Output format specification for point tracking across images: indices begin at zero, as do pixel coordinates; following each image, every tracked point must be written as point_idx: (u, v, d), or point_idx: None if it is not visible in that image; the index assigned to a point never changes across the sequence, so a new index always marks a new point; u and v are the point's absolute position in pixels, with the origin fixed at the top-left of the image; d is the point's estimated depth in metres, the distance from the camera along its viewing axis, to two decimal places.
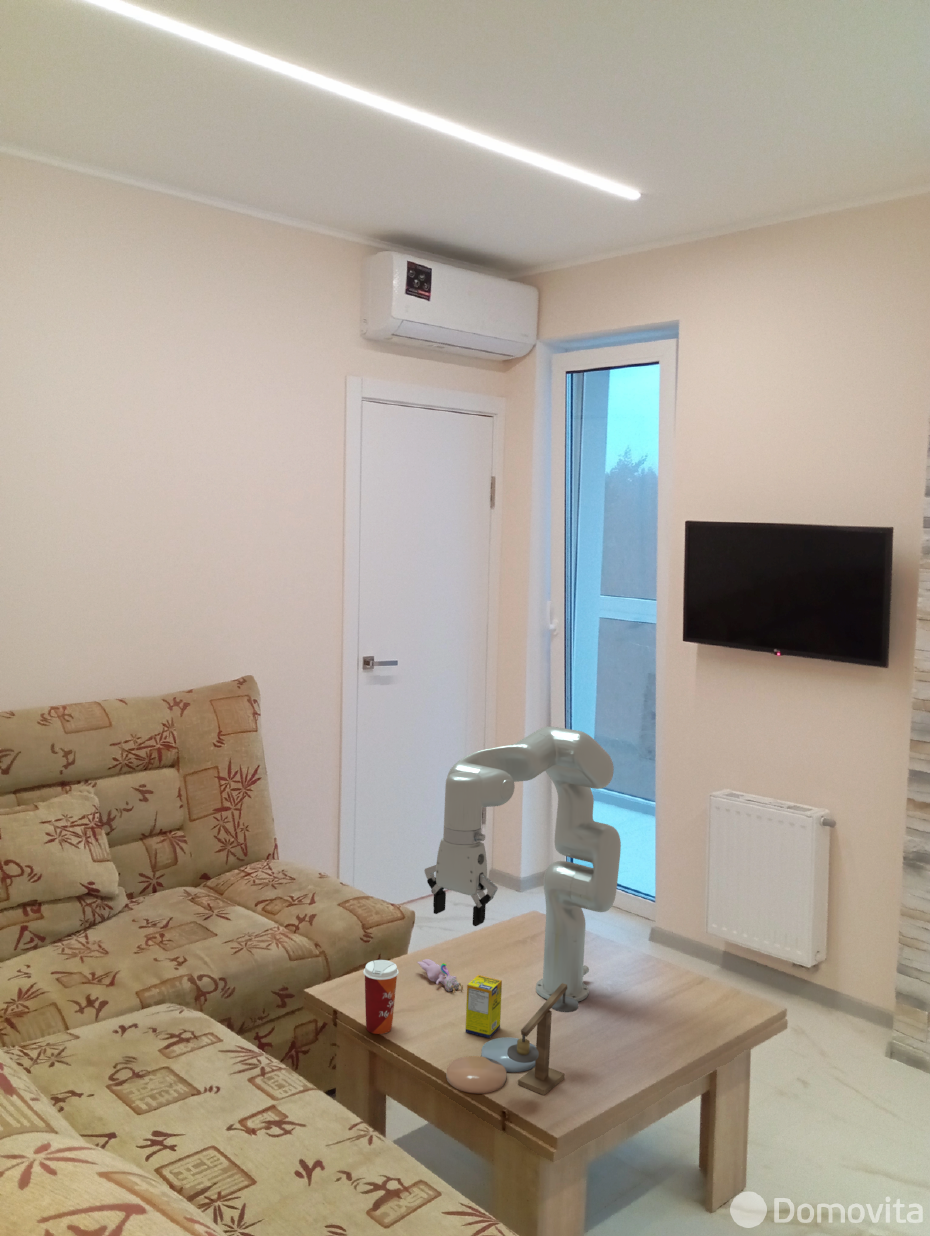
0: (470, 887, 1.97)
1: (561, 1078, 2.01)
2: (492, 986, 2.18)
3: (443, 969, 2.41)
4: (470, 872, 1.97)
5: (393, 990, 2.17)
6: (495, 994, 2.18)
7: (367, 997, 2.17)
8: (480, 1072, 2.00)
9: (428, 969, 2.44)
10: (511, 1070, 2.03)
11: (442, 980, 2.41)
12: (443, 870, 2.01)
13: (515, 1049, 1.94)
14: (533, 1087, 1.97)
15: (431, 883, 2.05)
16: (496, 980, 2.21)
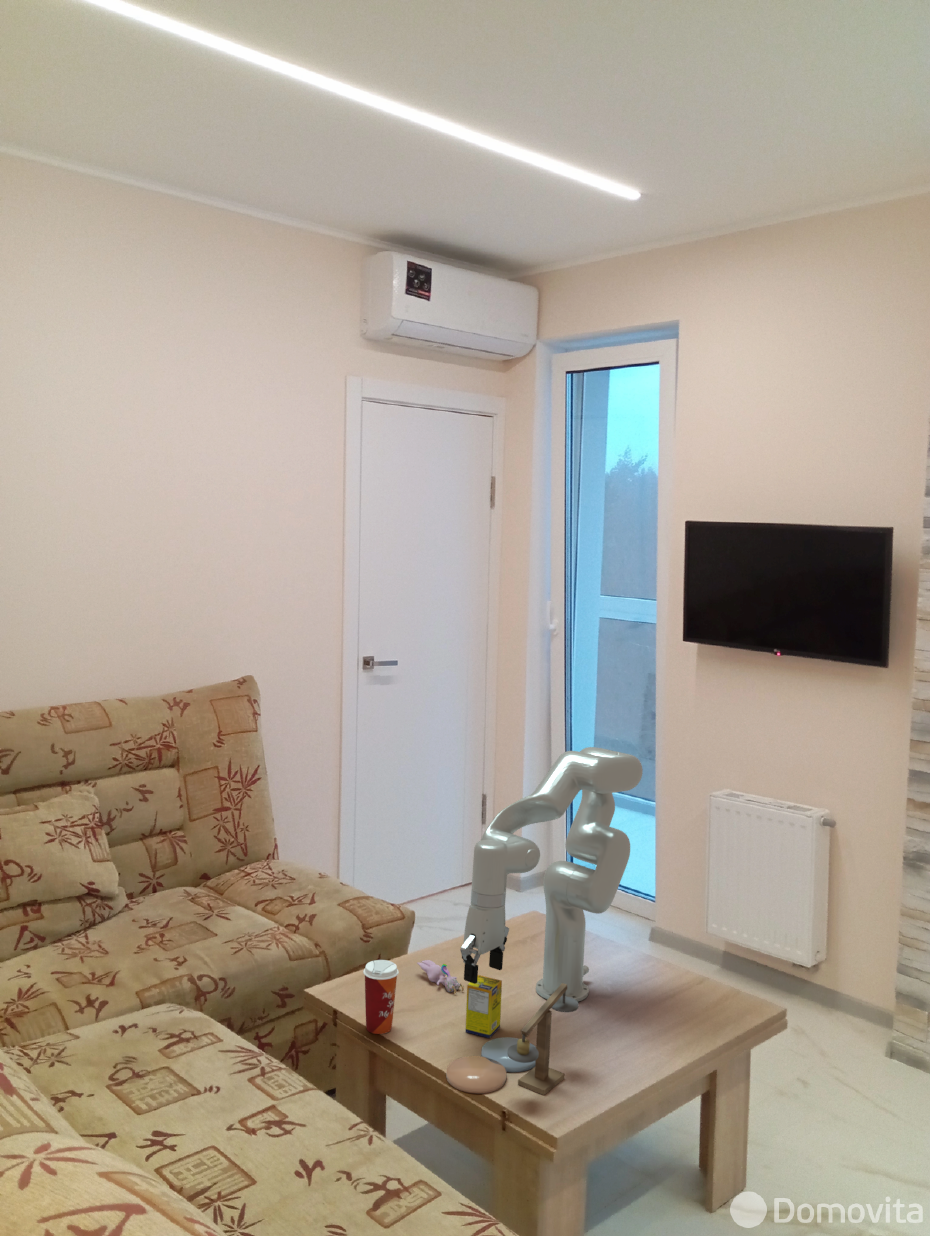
0: (503, 937, 2.21)
1: (561, 1078, 2.01)
2: (492, 986, 2.18)
3: (444, 970, 2.41)
4: (504, 924, 2.20)
5: (393, 990, 2.17)
6: (495, 994, 2.18)
7: (367, 997, 2.17)
8: (480, 1072, 2.00)
9: (428, 970, 2.43)
10: (511, 1070, 2.03)
11: (443, 981, 2.40)
12: (488, 936, 2.15)
13: (515, 1049, 1.94)
14: (533, 1087, 1.97)
15: (470, 958, 2.13)
16: (496, 980, 2.21)
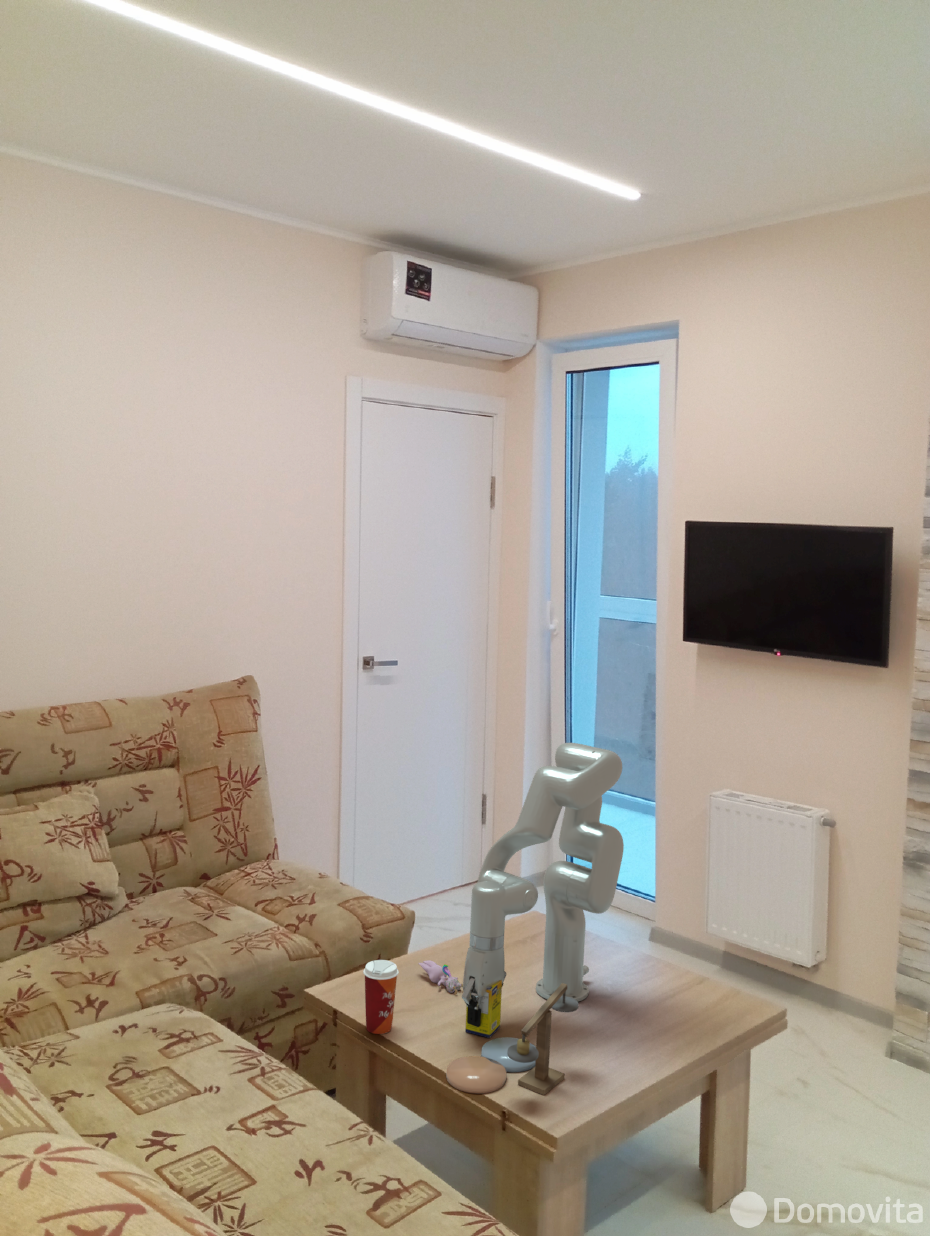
0: (502, 977, 2.22)
1: (561, 1078, 2.01)
2: (492, 986, 2.18)
3: (445, 970, 2.40)
4: (503, 964, 2.21)
5: (393, 990, 2.17)
6: (495, 994, 2.18)
7: (367, 997, 2.17)
8: (480, 1072, 2.00)
9: (429, 970, 2.43)
10: (511, 1070, 2.03)
11: (444, 981, 2.40)
12: (487, 978, 2.16)
13: (515, 1049, 1.94)
14: (533, 1087, 1.97)
15: (473, 1002, 2.15)
16: None
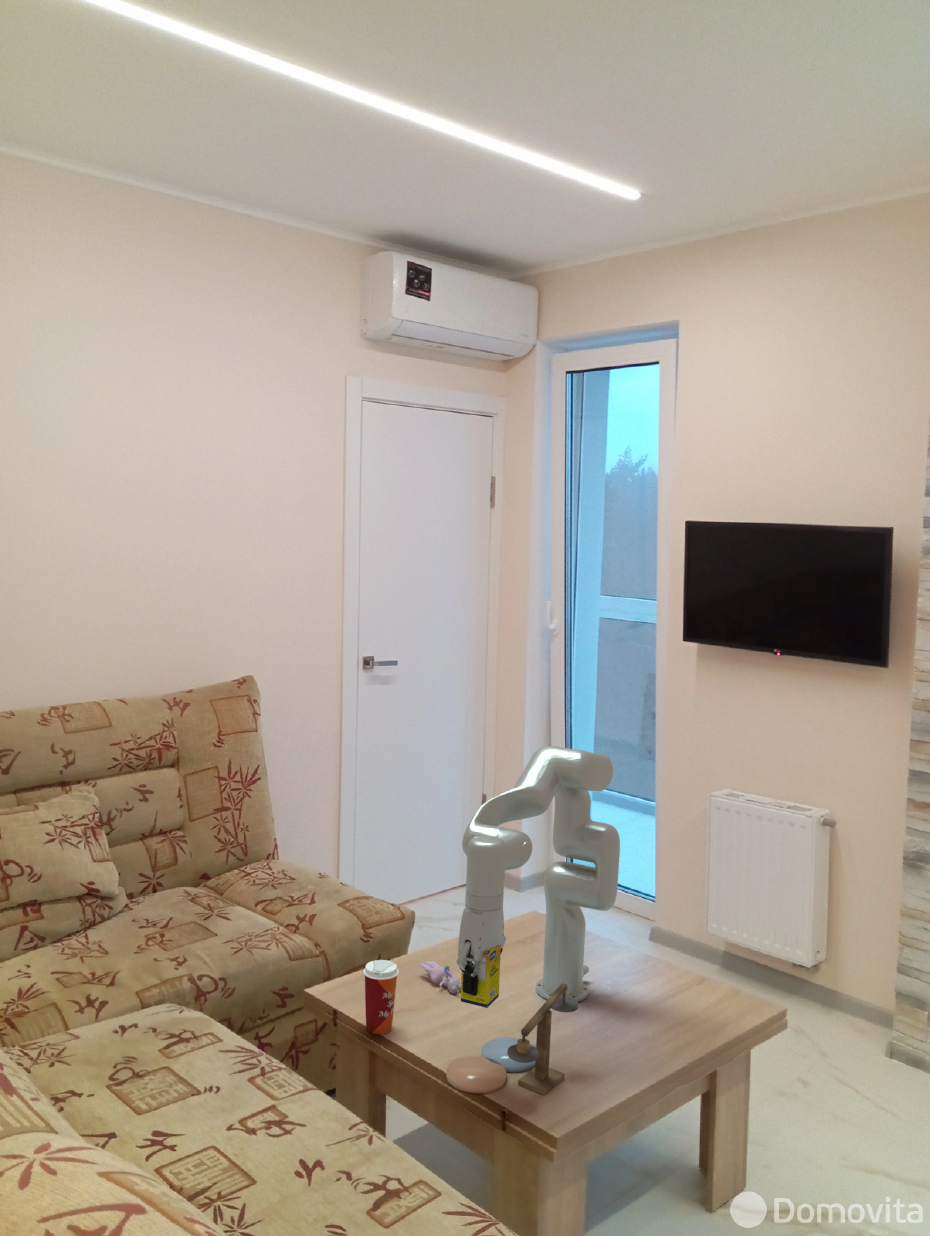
0: (502, 942, 2.01)
1: (561, 1078, 2.01)
2: (490, 950, 1.97)
3: (446, 971, 2.40)
4: (502, 927, 2.01)
5: (393, 990, 2.17)
6: (493, 960, 1.97)
7: (367, 997, 2.17)
8: (480, 1072, 2.00)
9: (431, 971, 2.42)
10: (511, 1070, 2.03)
11: (445, 982, 2.40)
12: (485, 942, 1.95)
13: (515, 1049, 1.94)
14: (533, 1087, 1.97)
15: (469, 968, 1.94)
16: None
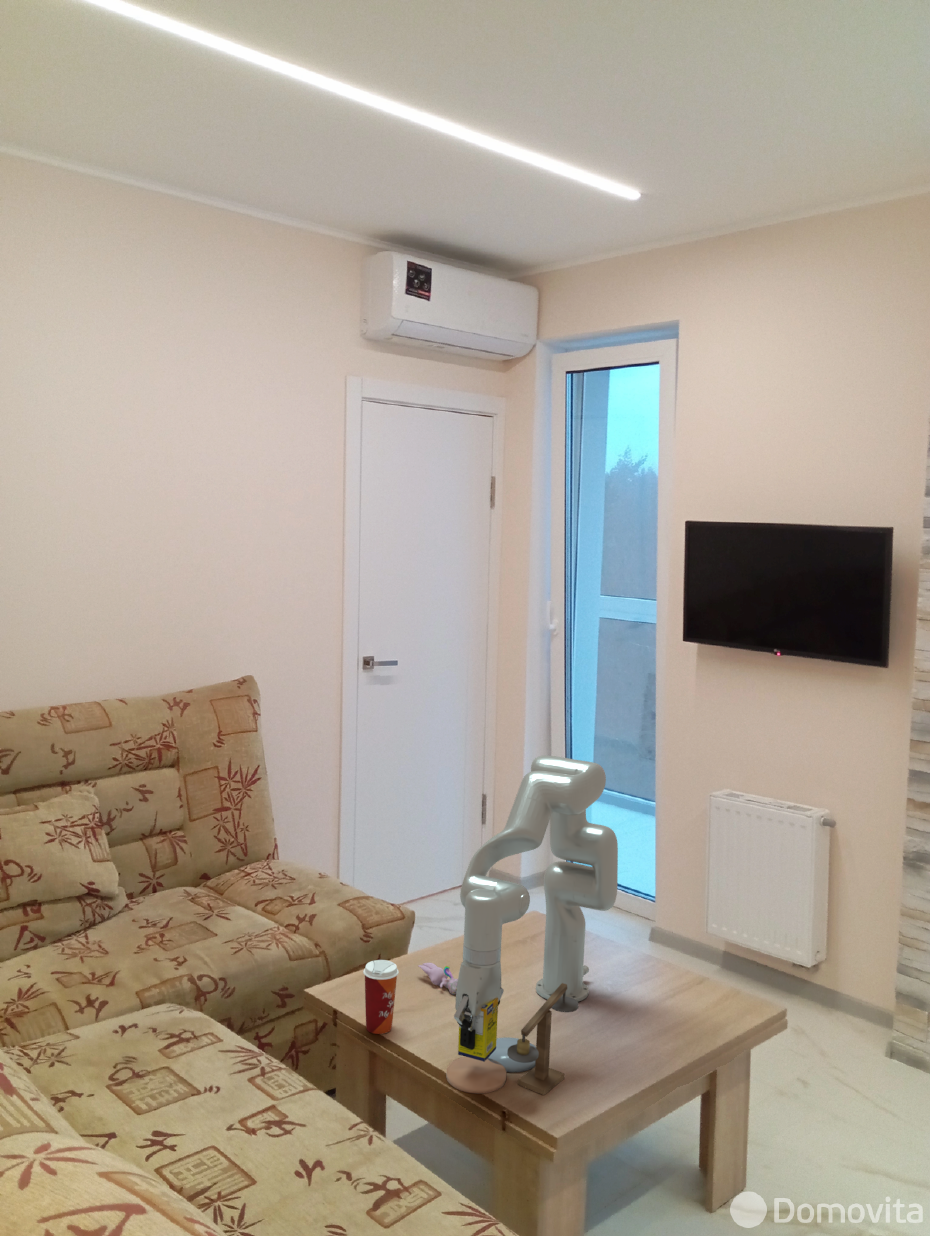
0: (499, 994, 2.02)
1: (561, 1078, 2.01)
2: (488, 1004, 1.98)
3: (446, 972, 2.39)
4: (500, 980, 2.01)
5: (393, 990, 2.17)
6: (491, 1013, 1.98)
7: (367, 997, 2.17)
8: (480, 1072, 2.00)
9: (430, 972, 2.42)
10: (511, 1070, 2.03)
11: (445, 983, 2.39)
12: (482, 996, 1.96)
13: (515, 1049, 1.94)
14: (533, 1087, 1.97)
15: (467, 1023, 1.95)
16: None
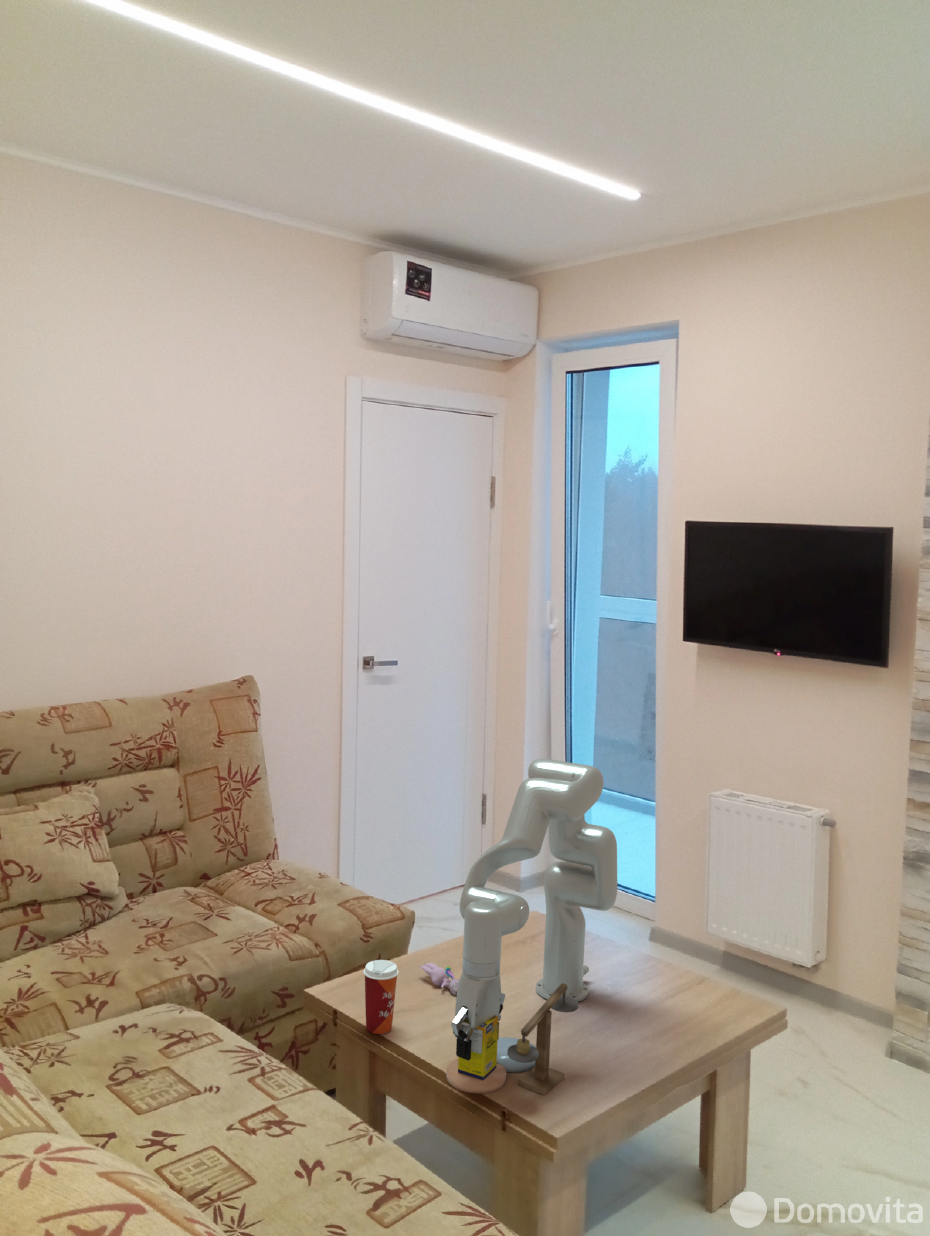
0: (498, 1006, 2.02)
1: (561, 1078, 2.01)
2: (487, 1023, 1.98)
3: (448, 973, 2.39)
4: (499, 992, 2.02)
5: (393, 990, 2.17)
6: (490, 1032, 1.99)
7: (367, 997, 2.17)
8: None
9: (432, 973, 2.41)
10: (511, 1070, 2.03)
11: (447, 984, 2.39)
12: (482, 1008, 1.96)
13: (515, 1049, 1.94)
14: (533, 1087, 1.97)
15: (463, 1033, 1.94)
16: None
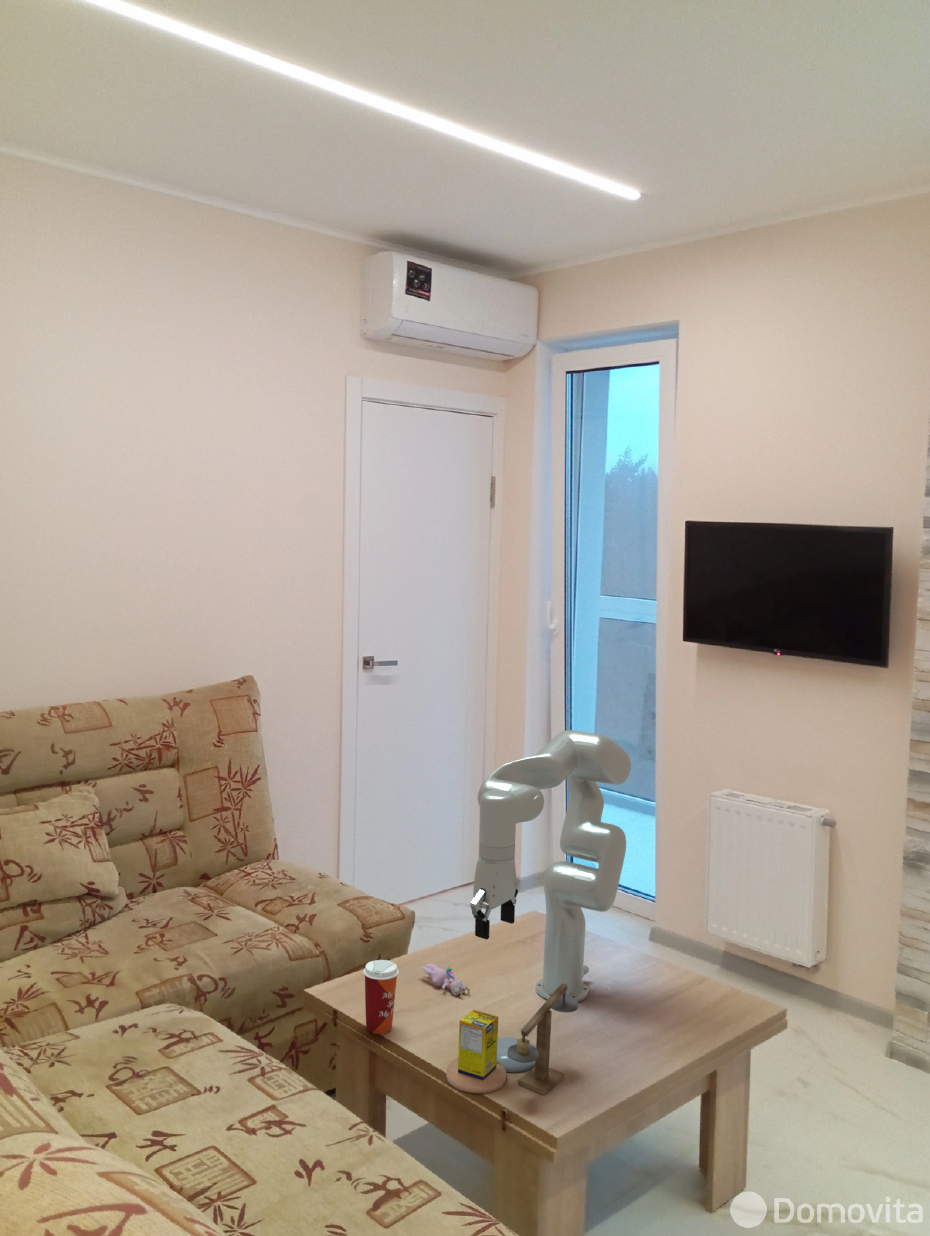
0: (514, 890, 2.11)
1: (561, 1078, 2.01)
2: (487, 1023, 1.98)
3: (449, 973, 2.39)
4: (514, 876, 2.11)
5: (393, 990, 2.17)
6: (490, 1032, 1.99)
7: (367, 997, 2.17)
8: None
9: (433, 974, 2.41)
10: (511, 1070, 2.03)
11: (448, 984, 2.39)
12: (499, 890, 2.06)
13: (515, 1049, 1.94)
14: (533, 1087, 1.97)
15: (481, 913, 2.04)
16: (492, 1016, 2.01)
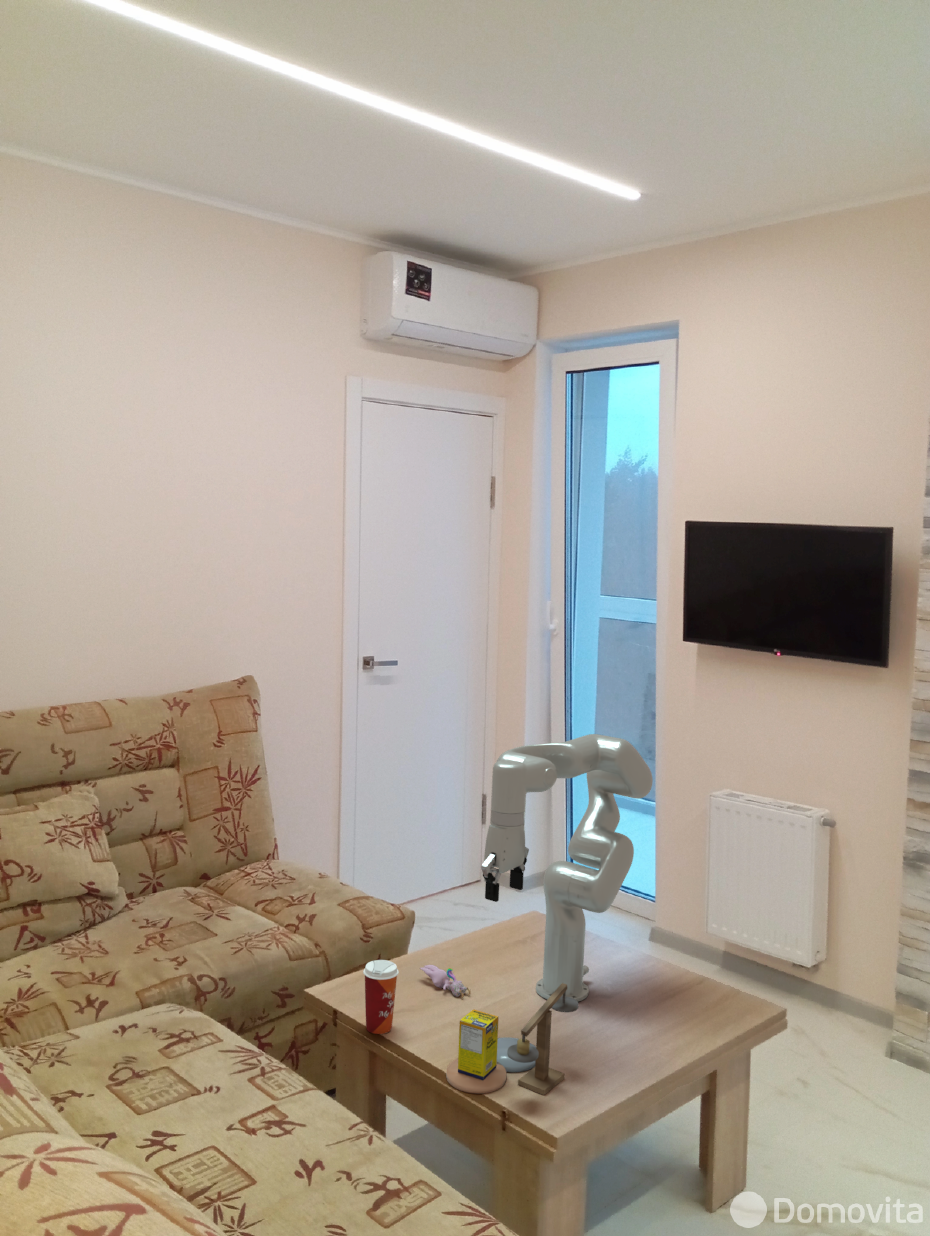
0: (523, 857, 2.21)
1: (561, 1078, 2.01)
2: (487, 1023, 1.98)
3: (449, 974, 2.38)
4: (524, 843, 2.21)
5: (393, 990, 2.17)
6: (490, 1032, 1.99)
7: (367, 997, 2.17)
8: None
9: (433, 975, 2.40)
10: (511, 1070, 2.03)
11: (448, 985, 2.38)
12: (509, 855, 2.15)
13: (515, 1049, 1.94)
14: (533, 1087, 1.97)
15: (491, 876, 2.13)
16: (492, 1016, 2.01)
